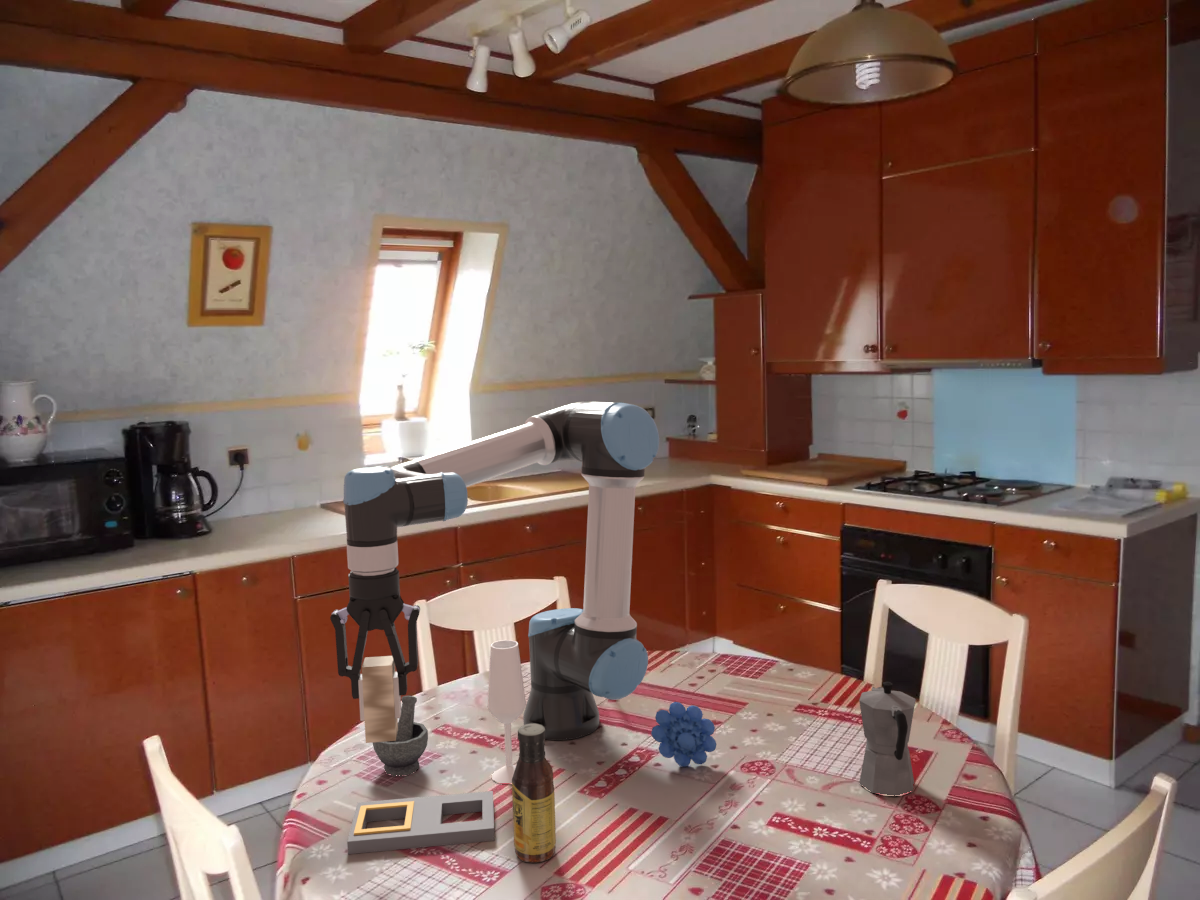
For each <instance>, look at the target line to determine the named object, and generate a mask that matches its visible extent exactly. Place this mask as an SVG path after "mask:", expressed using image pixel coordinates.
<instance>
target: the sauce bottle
mask: <svg viewBox="0 0 1200 900" xmlns="http://www.w3.org/2000/svg"><path fill="white" fill-rule="evenodd" d="M545 737H546V735H545V728H544V726H542V725H539V724H526V725H524V724H523V725H522V726H520V727H518V730H517V740H518V741H519V742H518V743H519V745H518V746H519V749H518V750H519V753H518V760H517V762H516V765H515V766H516V768H515V771H514V775H513V778H512V785H511V795H512V818H513V819H512V821H513V822H512V824H513V846H514V850H515V854H516V856H517V857H518V859H519V860H520V861H522V862H525V863H533V864H534V863H542V862H545V861H547V860H549V859H551V858H552V857H553V856H554V853H555V850H556V841H557V837H556V836H557V835H556V834H557V833H556V805H555V804H556V801H555V800H556V799H555V796H556V795H555V785H554V771H553V767H552V765H551V763H550V762H549V760H548V759H547V758H546V751H545V748H546V747H545V740H546V739H545Z"/></svg>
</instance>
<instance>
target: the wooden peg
mask: <svg viewBox="0 0 1200 900" xmlns="http://www.w3.org/2000/svg"><path fill="white" fill-rule="evenodd" d="M395 672H396V666H395V663H394V660H393V656H392V655H383V656H382V655H381V656H369V657H368V656H367V657H366V656H365V657H364V658H363V661H362V665H361V674H362V683H363V701H364V720H365V721H364V735H365V736H364V737H365V744H370V743H372V744H373V742H386V741H396V737H397V731H398V722H399V718H396V719H395V704H394V684H393V677H394V673H395Z"/></svg>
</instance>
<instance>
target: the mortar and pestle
mask: <svg viewBox="0 0 1200 900" xmlns="http://www.w3.org/2000/svg"><path fill="white" fill-rule="evenodd" d="M417 702H418V698H417V697H415V696H413V695H402V696H401V716H400V718H398V731H397V737H396V741H386V742H373V743H372V747H373V749H374V752H375V754H376V756H377V758H378V759H379V760H380V762H381V763H382V764H384V765H383V770H384V769H385V771H386V773H387V774H391V775H393V776H392V777H394V776H396V775H397V776H399V775H400V776H399V777H403V776H402V775H407V776H409V775H408V774H410V775H412V774H414V773H413V772H415V771H416V770H417V769H420V763H419V759H420V758H421V757H422V755H423V754H424V753H425V750H426V748H428V747H427V746H428V742H429V730H428V729H427V727H426V725H424V724H423V723H421V722H420V723H419V722H415V721H414V720H415V709H416V703H417ZM385 771H384V772H385ZM417 771H418V770H417ZM417 771H416V772H417ZM416 772H415V773H416ZM386 773H385V774H386ZM411 773H412V774H411Z"/></svg>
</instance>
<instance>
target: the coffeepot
mask: <svg viewBox="0 0 1200 900" xmlns="http://www.w3.org/2000/svg"><path fill="white" fill-rule="evenodd" d="M892 688H893V683H892V682H891V681H885V682H882V686H878V687H877V688H876V687H874V686H873V687H871V690H868V691H863V692H861V694H860V697H859V700H858V701H859V708H860V714H861V720H862V721H861V722H862V729H863V735H864V737H865V738H866V744H865V749H864V755H863V759H862V760H863V761H862V766H861V770H860V771H861V772H860V778H859V782H858V783H860V784H861V785H863V786H864V787H866V788H867V789H868V790H870V791H871V792H872V793H871V792H870V793H871V794H873V793H880V794H887V795H894V796H895V795H900V794H903V793H907V792H910V791H912V790H914V786H913V784H914V785H915V779H914V778H915V777H914V773H913V766H912V760H911V755H910V749H909V744H908V743H909V742H910V741H909V740H910V737H911V729H912V724H913V718H914V711H915V705H916V702H917V701H916V698H915V697H913V696H911V695H909V694H907V693H904V692H903V691H899V690H898V691H897V690H892ZM860 784H859V785H860ZM861 785H860V786H861Z"/></svg>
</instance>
